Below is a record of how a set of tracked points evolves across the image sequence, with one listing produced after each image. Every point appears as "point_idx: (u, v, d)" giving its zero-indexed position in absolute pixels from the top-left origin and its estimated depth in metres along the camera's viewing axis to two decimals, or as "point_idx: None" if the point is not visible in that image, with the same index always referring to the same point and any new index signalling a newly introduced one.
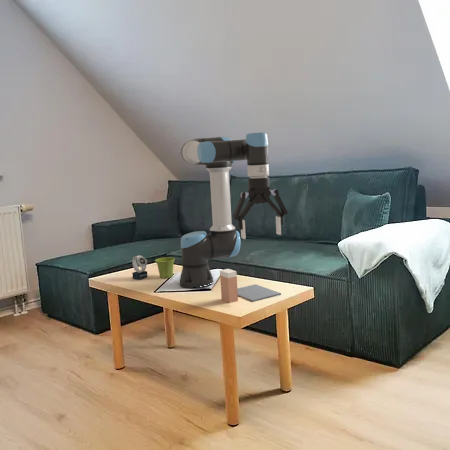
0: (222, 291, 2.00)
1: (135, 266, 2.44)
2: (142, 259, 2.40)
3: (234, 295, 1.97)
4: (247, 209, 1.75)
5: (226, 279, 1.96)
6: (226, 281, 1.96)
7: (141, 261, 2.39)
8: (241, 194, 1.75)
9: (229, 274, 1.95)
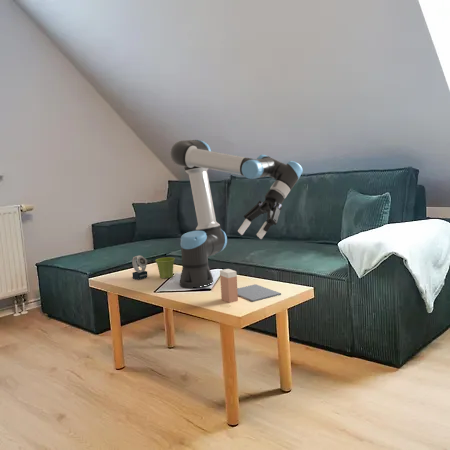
0: (222, 291, 2.00)
1: (135, 266, 2.44)
2: (142, 259, 2.40)
3: (234, 295, 1.97)
4: None
5: (226, 279, 1.96)
6: (226, 281, 1.96)
7: (141, 261, 2.39)
8: (280, 206, 2.00)
9: (229, 274, 1.95)
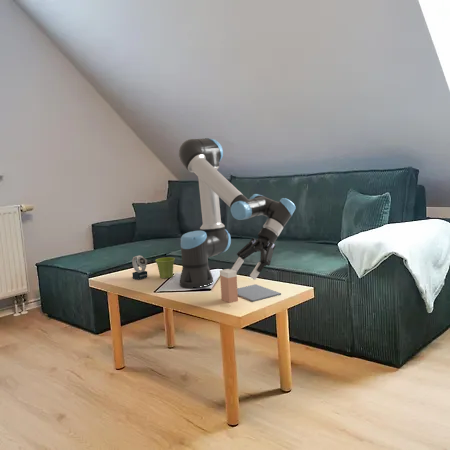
0: (222, 291, 2.00)
1: (135, 266, 2.44)
2: (142, 259, 2.40)
3: (234, 295, 1.97)
4: None
5: (226, 279, 1.96)
6: (226, 281, 1.96)
7: (141, 261, 2.39)
8: (273, 245, 1.98)
9: (229, 274, 1.95)
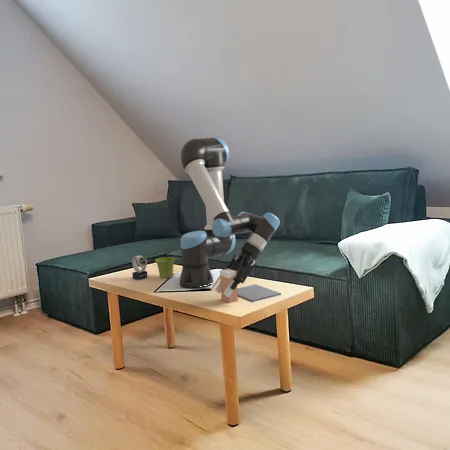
0: (222, 291, 2.00)
1: (135, 266, 2.44)
2: (142, 259, 2.40)
3: (234, 295, 1.97)
4: None
5: (226, 279, 1.96)
6: (226, 281, 1.96)
7: (141, 261, 2.39)
8: (253, 264, 1.96)
9: (229, 274, 1.95)
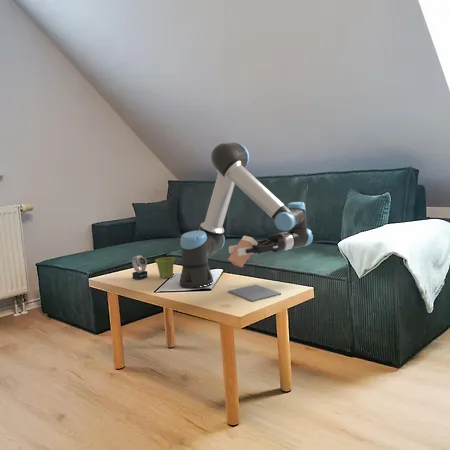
0: (233, 252, 2.03)
1: (135, 266, 2.44)
2: (142, 259, 2.40)
3: (242, 260, 1.99)
4: None
5: (246, 242, 2.01)
6: (245, 244, 2.00)
7: (141, 261, 2.39)
8: (276, 247, 2.02)
9: (252, 239, 2.00)
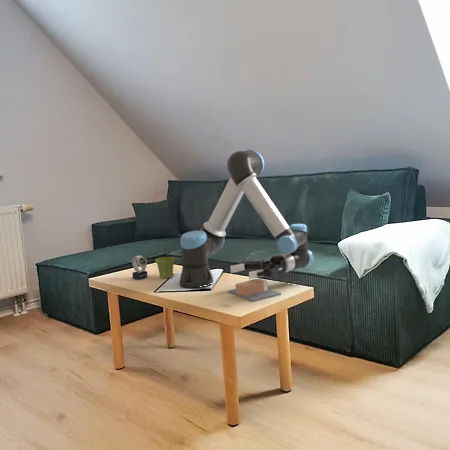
0: (243, 282, 2.07)
1: (135, 266, 2.44)
2: (142, 259, 2.40)
3: (249, 291, 2.03)
4: None
5: (260, 281, 2.07)
6: (258, 281, 2.07)
7: (141, 261, 2.39)
8: (281, 269, 2.05)
9: (266, 282, 2.08)
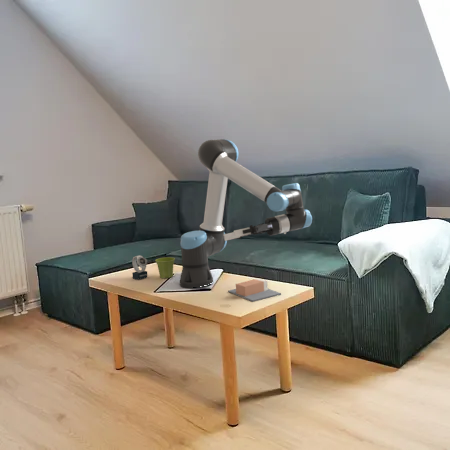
0: (243, 282, 2.07)
1: (135, 266, 2.44)
2: (142, 259, 2.40)
3: (249, 291, 2.03)
4: None
5: (260, 281, 2.07)
6: (258, 281, 2.07)
7: (141, 261, 2.39)
8: (270, 226, 2.00)
9: (266, 282, 2.08)
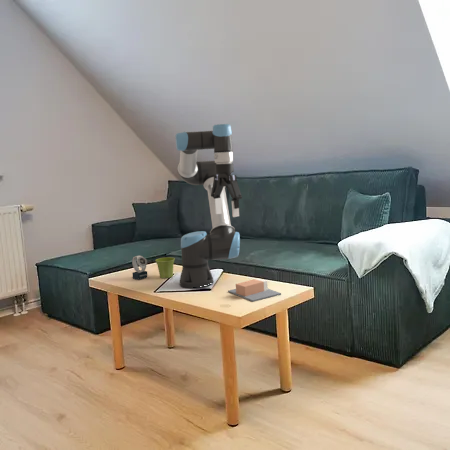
0: (243, 282, 2.07)
1: (135, 266, 2.44)
2: (142, 259, 2.40)
3: (249, 291, 2.03)
4: (216, 189, 2.08)
5: (260, 281, 2.07)
6: (258, 281, 2.07)
7: (141, 261, 2.39)
8: None
9: (266, 282, 2.08)
